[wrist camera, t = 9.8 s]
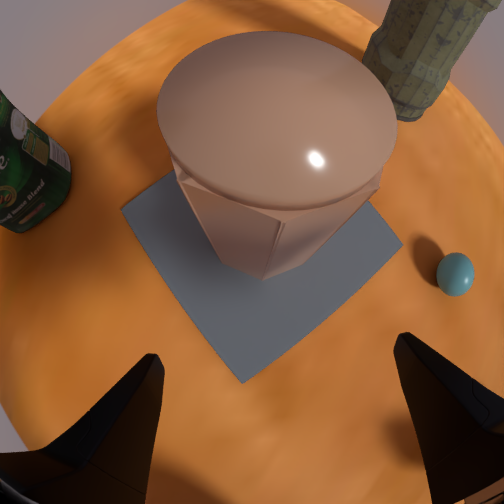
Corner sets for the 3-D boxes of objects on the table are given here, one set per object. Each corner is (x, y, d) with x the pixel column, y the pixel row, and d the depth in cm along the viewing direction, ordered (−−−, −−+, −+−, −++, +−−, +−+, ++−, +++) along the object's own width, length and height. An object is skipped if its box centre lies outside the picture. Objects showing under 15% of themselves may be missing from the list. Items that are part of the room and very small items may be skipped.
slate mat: (242, 381, 18) (242, 384, 17) (123, 212, 20) (120, 209, 20) (399, 246, 20) (403, 244, 19) (275, 112, 22) (276, 107, 22)
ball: (442, 306, 19) (468, 303, 15) (422, 275, 19) (447, 267, 16) (461, 279, 19) (486, 273, 16) (442, 249, 20) (467, 239, 16)
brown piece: (291, 293, 18) (373, 250, 6) (194, 251, 19) (108, 147, 6) (325, 202, 20) (403, 75, 7) (237, 167, 20) (225, 19, 8)
